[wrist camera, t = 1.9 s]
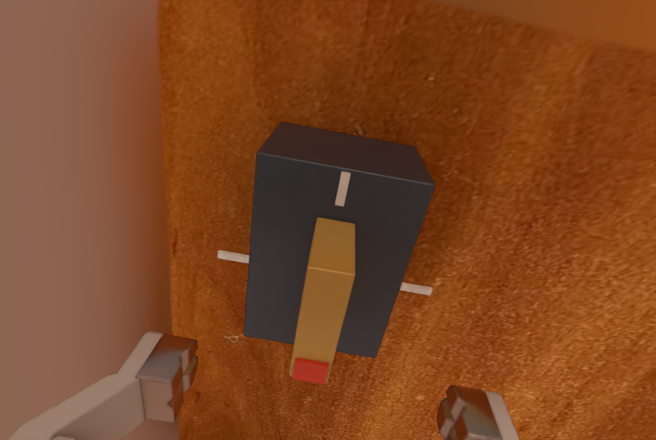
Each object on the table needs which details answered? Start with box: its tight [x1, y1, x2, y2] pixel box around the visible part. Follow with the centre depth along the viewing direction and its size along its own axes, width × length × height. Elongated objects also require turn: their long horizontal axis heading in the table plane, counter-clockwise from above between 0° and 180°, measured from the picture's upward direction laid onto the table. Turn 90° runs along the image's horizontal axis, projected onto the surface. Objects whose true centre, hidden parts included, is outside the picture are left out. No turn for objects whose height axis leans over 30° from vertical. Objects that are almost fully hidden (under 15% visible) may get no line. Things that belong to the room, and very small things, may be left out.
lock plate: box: [218, 122, 435, 358], centre depth 18 cm, size 10×10×5 cm
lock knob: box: [289, 217, 355, 384], centre depth 14 cm, size 6×2×4 cm, turn 170°
